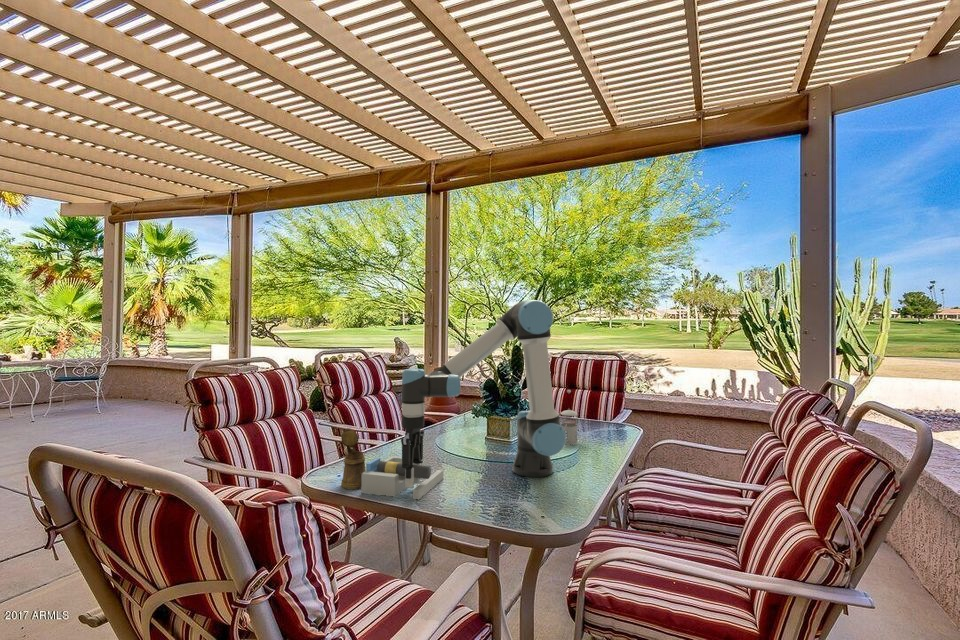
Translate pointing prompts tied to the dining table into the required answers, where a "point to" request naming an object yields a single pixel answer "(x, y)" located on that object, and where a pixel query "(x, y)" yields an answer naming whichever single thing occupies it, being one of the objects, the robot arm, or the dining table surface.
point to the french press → (570, 427)
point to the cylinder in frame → (393, 480)
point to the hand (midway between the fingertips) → (412, 485)
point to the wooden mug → (352, 461)
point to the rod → (403, 469)
